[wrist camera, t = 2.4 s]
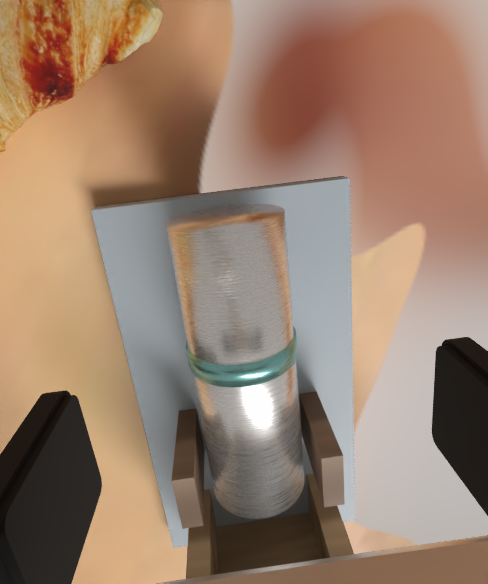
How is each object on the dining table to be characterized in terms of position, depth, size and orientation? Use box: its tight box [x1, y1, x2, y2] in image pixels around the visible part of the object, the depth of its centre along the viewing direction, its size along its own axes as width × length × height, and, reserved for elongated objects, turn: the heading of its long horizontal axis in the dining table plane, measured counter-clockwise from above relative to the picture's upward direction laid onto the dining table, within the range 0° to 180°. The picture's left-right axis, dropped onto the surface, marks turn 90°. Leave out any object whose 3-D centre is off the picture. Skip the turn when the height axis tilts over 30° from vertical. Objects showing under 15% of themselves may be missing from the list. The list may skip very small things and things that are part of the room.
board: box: [91, 176, 355, 548], centre depth 24 cm, size 22×12×1 cm, turn 6°
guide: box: [172, 391, 345, 529], centre depth 22 cm, size 3×8×5 cm, turn 96°
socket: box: [186, 474, 354, 579], centre depth 23 cm, size 4×8×8 cm, turn 96°
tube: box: [166, 204, 305, 519], centre depth 19 cm, size 14×5×5 cm, turn 6°
